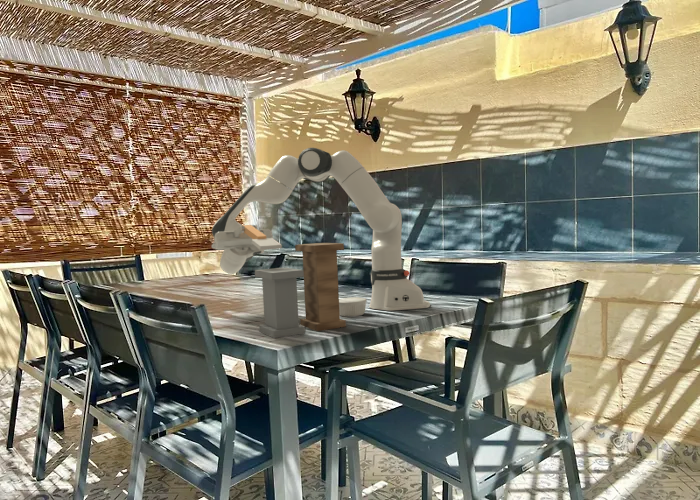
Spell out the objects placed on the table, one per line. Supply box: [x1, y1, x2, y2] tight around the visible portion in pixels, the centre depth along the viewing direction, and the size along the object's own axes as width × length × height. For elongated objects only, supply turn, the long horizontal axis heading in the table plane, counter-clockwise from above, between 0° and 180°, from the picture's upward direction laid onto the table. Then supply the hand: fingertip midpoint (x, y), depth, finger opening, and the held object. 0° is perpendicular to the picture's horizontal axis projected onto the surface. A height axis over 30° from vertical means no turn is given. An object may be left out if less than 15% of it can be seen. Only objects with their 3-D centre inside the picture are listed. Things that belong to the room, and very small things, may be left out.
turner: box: [241, 224, 283, 251], centre depth 177 cm, size 23×7×2 cm, turn 30°
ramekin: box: [339, 296, 368, 318], centre depth 191 cm, size 11×11×5 cm
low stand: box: [254, 266, 306, 339], centre depth 164 cm, size 14×10×19 cm
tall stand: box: [294, 242, 347, 332], centre depth 171 cm, size 14×10×26 cm
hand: (249, 227), depth 184 cm, fingers closed on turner, 3 cm apart
